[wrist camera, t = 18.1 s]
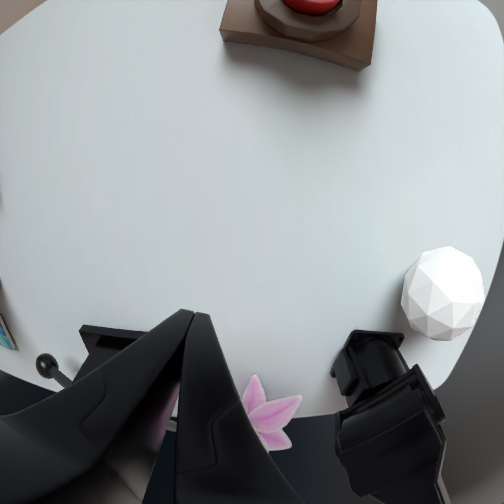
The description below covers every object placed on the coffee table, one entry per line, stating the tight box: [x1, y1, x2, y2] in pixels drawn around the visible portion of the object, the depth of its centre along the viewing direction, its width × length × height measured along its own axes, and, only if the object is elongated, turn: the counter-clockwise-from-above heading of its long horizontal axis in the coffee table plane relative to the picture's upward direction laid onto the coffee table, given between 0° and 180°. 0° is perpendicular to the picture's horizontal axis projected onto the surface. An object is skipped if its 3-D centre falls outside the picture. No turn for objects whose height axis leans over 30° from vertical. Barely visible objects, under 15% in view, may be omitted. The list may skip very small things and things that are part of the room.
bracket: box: [71, 325, 147, 385], centre depth 21 cm, size 9×7×10 cm
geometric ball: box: [401, 246, 485, 341], centre depth 18 cm, size 8×8×8 cm
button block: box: [219, 0, 377, 71], centre depth 12 cm, size 10×7×4 cm
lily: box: [241, 373, 303, 453], centre depth 25 cm, size 12×12×10 cm
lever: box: [36, 353, 72, 388], centre depth 20 cm, size 13×3×3 cm, turn 91°
